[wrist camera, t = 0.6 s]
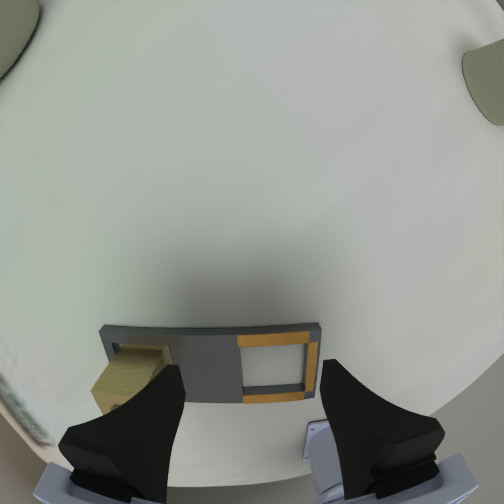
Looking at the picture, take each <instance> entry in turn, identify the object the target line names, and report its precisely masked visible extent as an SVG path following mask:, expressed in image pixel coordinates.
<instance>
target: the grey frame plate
mask: <svg viewBox="0 0 504 504" xmlns="http://www.w3.org/2000/svg"><path fill="white" fill-rule="evenodd" d="M321 331H322V329H321V327H320V325H319V323H309V324H297V325H283V326H266V327H243V328H147V327H126V326H110V325H104V326H103V327H102V328H101V329H100V330H99V334H100V337H101V340H102V343H103V346H104V349H105V352H106V354H107V357H108V360H109V363H110V361H111V360H112V358H113V357H114V355H115V354H116V353H117V351H118V350H119V344H118V343H124V344H138V345H154V346H168V347H169V352H170V356H171V360H172V364H173V365H179V367H180V372H181V376H182V380H183V384H184V388H185V392H186V396H185V402H199V403H244V404H250V403H271V402H285V401H297V400H304V399H309V398H314V397H315V389H316V381H317V373H318V363H319V354H320V343H321ZM301 343H306V346H305V362H304V375H303V383H301V384H290V385H277V386H260V387H243V381H242V370H241V359H240V348H239V347H255V346H274V345H289V344H301Z"/></svg>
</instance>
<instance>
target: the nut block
mask: <svg viewBox="0 0 504 504" xmlns="http://www.w3.org/2000/svg"><path fill="white" fill-rule="evenodd" d="M167 364H171V363H170V359H169V355H168V351H167V347H166V346H154V345H138V344H124V343H123V344H122V346H121V347H120V348H119V350H118V351H117V353H116V354H115V355H114V357H113V358H112V360H111V361H110V363H109V364H108V365H107V367H106V368H105V370H104V371H103V373H102V374H101V376H100V377H99V379H98V380H97V382H96V383H95V384H94V386H93V387H92V389H91V390H90V391H91V393H92V395H93V397H94V399H95V401H96V402H97V404H98V406H99V408H100V410H101V412H102V414H103V415H105V414H107V413H109V412H110V411H112V410H114V409H116V408H118V407H119V406H121V405H122V404H124V403H125V402H127V401H128V400H129V399H131V398H132V397H133V396H135V395H136V394H137V393H138V392H139V391H140V390H142V389H143V388H144V387H145V386H146V385H147V384H148V383H149V382H150V381H151V380H152V379H153V378H154V377H155V376H156V375H157V374H158V373H159V372H160V371H161V370H162V369H163V368H164V367H165V366H166V365H167Z"/></svg>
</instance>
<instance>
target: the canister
mask: <svg viewBox="0 0 504 504" xmlns="http://www.w3.org/2000/svg"><path fill="white" fill-rule="evenodd" d="M38 17H39V3H38V1H37V0H0V78H1V77H2V76H3V75H4V74H5V73H6V71H8V70H9V68H10V67H11V66H12V65H13V64H14V62H15V60H16V59H17V58H18V56H19V55H20V54H21V53H22V51H23V49H24V47H25V46H26V44H27V42H28V41H29V39H30V37H31V35H32V33H33V30H34V29H35V27H36V23H37V21H38Z"/></svg>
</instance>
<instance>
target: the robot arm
mask: <svg viewBox="0 0 504 504" xmlns="http://www.w3.org/2000/svg"><path fill="white" fill-rule="evenodd" d="M320 394H321V399H322V404H323V408H324V410H325V413H326V416H327V419H328V420H326V421H319V422H312V423H310V424H309V425H308V430H307V436H306V442H305V448H304V454H303V459H302V460H303V462H305V463H306V462H310V464H311V469H312V474H313V479H314V485H315V491H316V494H317V496H316V497H315V504H458V503H460V502H461V501H462V500H463V499H464V498H466V497H467V496H468V495H469V494H470V493H471V492H473V491H474V490H475V489H476V488H477V487H478V486H479V483H478V482H477V480H476V478H475V476H474V475H473V473H472V471H471V469H470V468H469V466H468V464H467V463H466V461H465V459H464V458H463V456H462V454H461V453H460V452H458V453H456V454H454V455H453V456H451V457H449V458H447V459H445V460H443V461H442V462H440V463H438V464H437V465H436V463H435V461H434V460H436V456H435V454H434V452H435V450H436V449H437V448H438V446H439V445H440V443H441V442H442V440H443V438H444V436H445V431H444V430H443V428H442V426H441V425H440V423H439V422H438V421H437V419H436V418H432V417H428V416H424V415H420V414H416V413H413V412H411V411H408V410H405V409H403V408H400V407H398V406H396V405H394V404H392V403H390V402H388V401H386V400H385V399H383V398H381V397H380V396H378V395H376V394H375V393H373V392H372V391H371V390H369V389H368V388H367V387H365V386H364V385H363V384H362V383H360V382H359V381H358V380H357V379H356V378H355V377H354V376H352V375H351V374H350V373H349V372H348V371H347V370H346V369H345V368H344V367H343V366H342V365H341V364H340V363H339V362H338V361H337V360H336V359H330V360H323V368H322V375H321V382H320ZM185 396H186V392H185V388H184V384H183V380H182V376H181V372H180V367H179V365H171V364H167V365H166V366H165V367H164V368H163V369H162V370H161V371H160V372H159V373H158V374H157V375H156V376H155V377H154V378H153V379H152V380H151V381H150V382H149V383H148V384H147V385H146V386H145V387H144V388H143V389H142V390H140V391H139V392H138V393H137V394H136V395H135V396H133V397H132V398H131V399H129V400H128V401H127V402H125V403H124V404H122V405H121V406H119V407H118V408H116V409H114V410H112V411H110V412H109V413H107V414H105V415H103V416H101V417H98V418H96V419H94V420H91V421H88V422H86V423H82V424H79V425H75V426H72V427H69V428H68V429H67V431H66V432H65V434H64V436H63V437H62V439H61V441H60V442H59V444H58V447H59V450H60V452H61V453H62V455H63V456H64V457H65V458H66V459H67V460H68V462H69V463H70V464H71V465H72V466H73V467H74V470H73V472H71V471H69V470H68V469H66V468H64V467H62V466H59V465H57V464H55V463H53V462H49V464H48V466H47V467H46V469H45V471H44V473H43V475H42V477H41V479H40V480H39V482H38V484H37V486H36V488H35V490H34V492H33V495H34V496H35V497H36V498H38V499H39V500H40V501H41V502H43V503H44V504H166V497H167V482H168V472H169V464H170V457H171V451H172V446H173V442H174V439H175V436H176V432H177V429H178V426H179V423H180V419H181V416H182V413H183V409H184V403H185Z"/></svg>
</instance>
